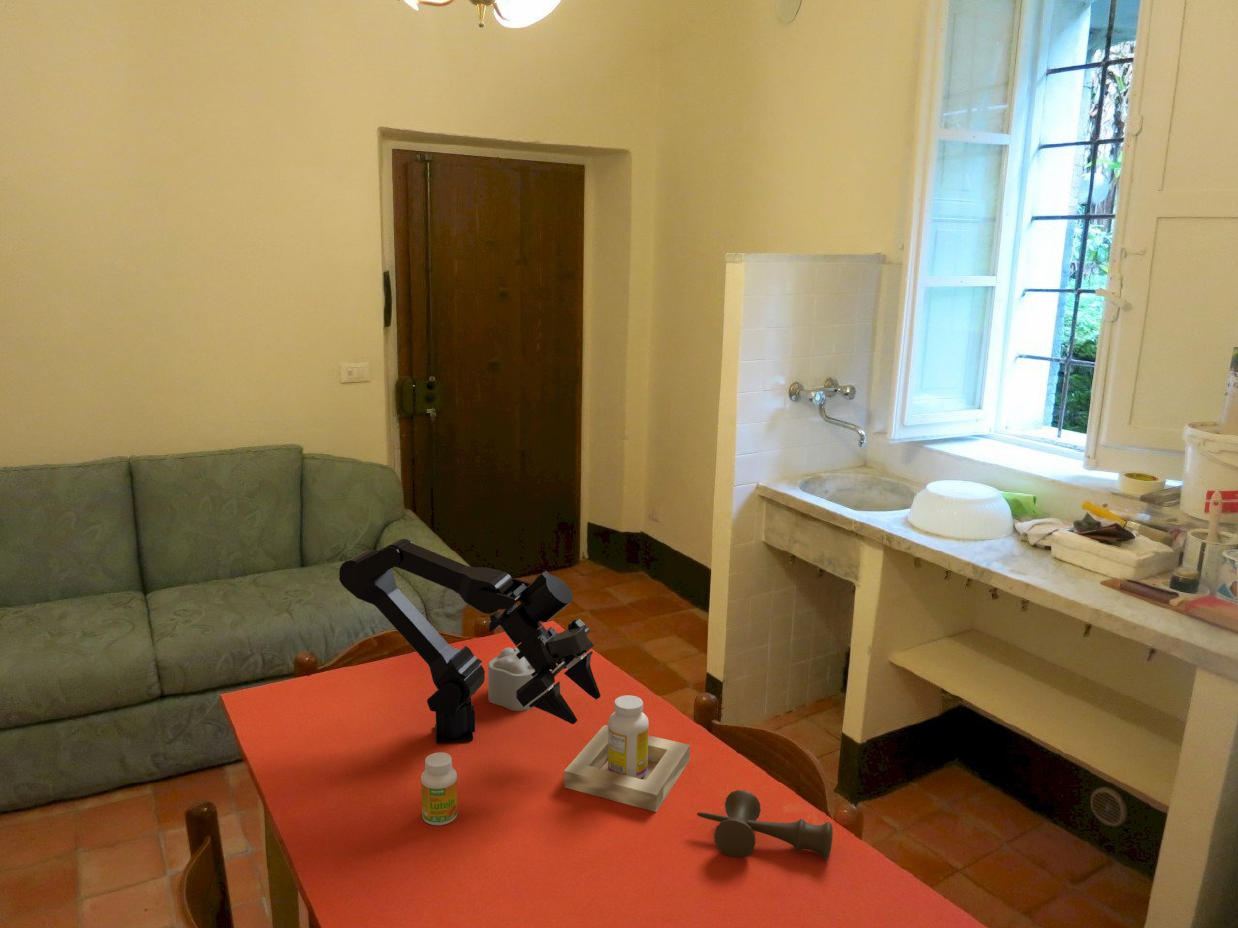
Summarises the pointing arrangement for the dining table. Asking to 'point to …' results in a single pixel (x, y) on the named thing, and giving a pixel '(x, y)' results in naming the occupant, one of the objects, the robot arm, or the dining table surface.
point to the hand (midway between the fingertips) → (587, 709)
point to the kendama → (763, 828)
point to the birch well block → (642, 793)
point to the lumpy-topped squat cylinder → (508, 679)
